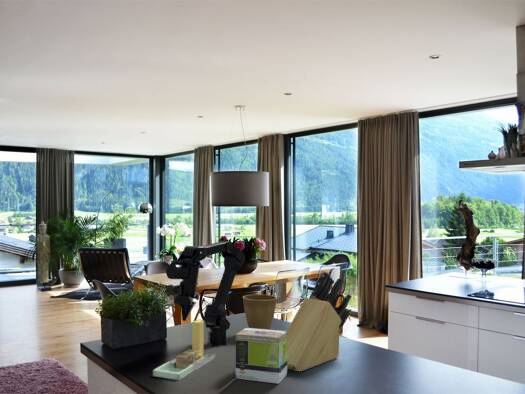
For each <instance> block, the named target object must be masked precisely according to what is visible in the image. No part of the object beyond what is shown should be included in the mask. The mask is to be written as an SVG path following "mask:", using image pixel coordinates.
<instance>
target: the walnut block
mask: <svg viewBox="0 0 525 394" xmlns="http://www.w3.org/2000/svg"><path fill="white" fill-rule="evenodd" d="M175 358H176V368H180V369H186V368H187V367H188V365H190V364H191V363H192V354H188V353H183V352H181V353H178V354H177V355H175Z"/></svg>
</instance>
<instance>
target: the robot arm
mask: <svg viewBox="0 0 525 394" xmlns="http://www.w3.org/2000/svg"><path fill="white" fill-rule="evenodd" d="M216 254H220V255H221V256H222V258H223V259H224V260H223V267H224V269H223V270H224V271H223V272H222V273H223V274H222V276H221V279H220V281H219V286H218V288H217V291H216V294H215V297H214V300H213V302H212V303H211V304H209V303H208V304H207V305H206V306H205V310H204V312H203V321H204V325H205V327H206V329H207V328H208V332H207V343H208V344H209V345H210V346H211V347H216V346H217V347H218V346H225V345H228V342H227V331H228V330H229V329H230V326H231V322H230V321H229V320H228V319H227V308H226V305H227V301H228V299H229V296H230V292H231V289H232V286H233V284H234V281H235V277H236V275H237V272H239V271H240V269H242V268H243V265H244V263H245V261H246V255H245V254H244V252H243V251H242V250H241V249H239V248H238V247H236V246H235V245H234V244H233V243H232V242H231V241H228V240H220V241H217V242H214V243H208V244H204V245H187V246H184V248H183V250H182V252H181V253H180V255H179V257H178V258H177V260H171V261H170V264H168V265H167V267H166V270H165V275H166V277H167V279H169V280H181V281H180V282H179V284H176V285H173V284H168V285H167V287H166V288H165V290H164V292H165V294H166V297H171V296H175V295H176V296H175V297H174V299H173V304H174V305H178V306H180V309H181V320H182V321H183V322H185V321H187V319H188V318H189V315H190V314H191V312H192V310H193V308H194V307H195V305H196V303H197V302H196V301H200V295H201V294H200V293H199V292H198V291H197V287H198V285H199V282H198V279H199V273H200V269H204V266H203V264H202V261H203V260H205V259H206V257H209V256H212V255H216ZM194 300H196V301H194Z"/></svg>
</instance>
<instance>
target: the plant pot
mask: <svg viewBox="0 0 525 394" xmlns="http://www.w3.org/2000/svg"><path fill="white" fill-rule="evenodd" d="M242 300H243V302H242V303H243V309H244V314H245V320H246V323H247V326H248V327H247V328H255V329H268V330H271V326H272V323H273V319H274V315H275V312H276V307H277V301H278V297H277V296H275V295H270V294H255V293H254V294H246V295H243V296H242Z"/></svg>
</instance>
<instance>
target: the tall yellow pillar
mask: <svg viewBox="0 0 525 394" xmlns="http://www.w3.org/2000/svg"><path fill="white" fill-rule="evenodd" d="M191 323H192V324H191V325H192V326H191V328H192V330H191V350H199V359H200V358H201V357H203V356H204V347H205V345H204V338H205V337H204V335H205V333H204V331H205V326H204V325H205V321H204V320H199V319H198V320H194V321H192V322H191Z"/></svg>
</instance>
